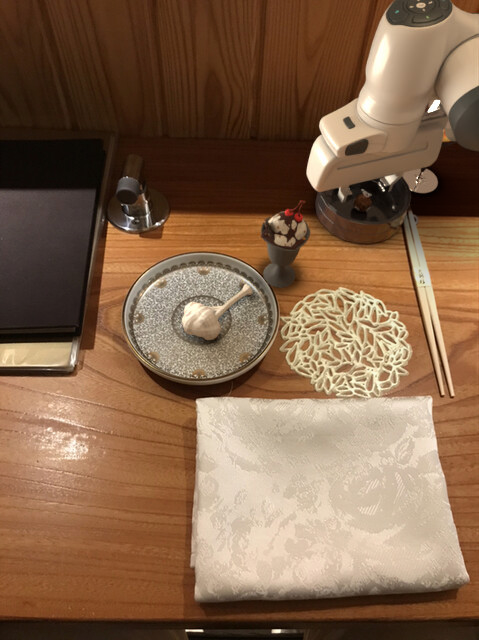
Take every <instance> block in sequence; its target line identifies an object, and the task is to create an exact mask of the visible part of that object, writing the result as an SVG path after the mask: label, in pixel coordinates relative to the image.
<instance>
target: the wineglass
mask: <svg viewBox="0 0 479 640" xmlns="http://www.w3.org/2000/svg"><path fill="white" fill-rule="evenodd" d="M437 109H441V110H443V111H444V112H446V111H445V109H444V108H443V106H442V104H441V102H440V101H431V102H430V103H429V104H428V105H427V106H426V109H425V112H431V111H433V110H437ZM443 133H444V134H443V140H442V145H441V148H442V147H448V146H452V145H454V144H456V143H457V141H456V139H455V137H454V134H453V131H452V128H451V125H450V123H449V119H448V122H447V124H446V127H445V129H444V130H443ZM402 177H403V178H404V179H405V181H406V182H407V184H408V186H409V189H410V192H414V193H418V194H427V193H431V192H433V191H435V190H436V188H437V187H438V185H439V181H438V177H437V176H436V175H435V173H434V172H433V171H432V170H430V169H429V168H427V167H424V168H420V169H416V170H411V171H407V172H404V174H403V176H402Z"/></svg>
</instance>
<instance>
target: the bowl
mask: <svg viewBox="0 0 479 640" xmlns="http://www.w3.org/2000/svg"><path fill="white" fill-rule="evenodd" d="M382 178H384V177H382ZM379 180H380V178H377V179H373V180H369V181H365V182H360V183H356V184H352V185H349V189H350V191H351V192H352V193H353V195H352V197H351V201H347V202H344V203H341V201H340V200H339V198H338V192H339V188H335V189H331V190H326V191H323V192H318V191H317V193H316V198H315V203H314V205H315V213H316V216H317V218H318V220H319V222H320V223H321V225H322V226H323V227H324V228H325V229H326V230H327V231H329V233H330V234H332V235H334V236H335V237H338V238H340V239H342V240H343V241H347V242H352V243H355V244H375V243H379V242H383V241H386V240H388V239H389V238H391V237H393V236H394V235H396V233H398V231H399V229H400V228H401V227H402V225H403V224H404V223H403V222H404V220H405V218H406V215H407V213H408V210H409V208H410V205H411V204H410V203H411V199H412V193H411V190H410V189H409V186H408V184H407V182H406V181H405V179H404V178H403V177H401V178H400V179H399V180H398V181H397V182H396V183H395V184H393V187H392V189H391V191H389V192H385V193H381V192H380V191H381V190H379V188H378V183H379ZM362 189H364V190H362ZM365 191H366V192H367V193H369V194H370V195H368V194H367V193H366V192H365ZM363 192H365V193H366V194H365V193H363ZM362 194H365V195H367V196H369V198H370V199H371V202H372V204H371V206H370V208H369V210H368V211H367V210H366V211H367V212H366V211H364V212H360V211H358V210H356V209H355V208H354V203H353V202H354V199H355V198H356V197H357V196H358V195H362Z"/></svg>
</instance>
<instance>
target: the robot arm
mask: <svg viewBox="0 0 479 640" xmlns="http://www.w3.org/2000/svg"><path fill="white" fill-rule="evenodd" d="M431 101H440V102H441V104H442V106H443V108H444V109H445V111H446V112H444V111H443V110H441V109H437V110H433V111H431V112H425V109H426V106H427V105H428V104H429V103H430V102H431ZM448 119H449V123H450V125H451V128H452V131H453V134H454V137H455V139H456V141H457V142H456V143H457V145H459V146H460V147H462V148H464V149H466V150H467V149H468V150H470V151H474V152H479V12H467V11H465V10H462V9H460V8H459V7H457V6H456V5H455V4H454V3H453V2H452V0H393V1H392V2H391V3H390V5H388V6H387V8H386V9H385V11H384V13H383V15H382V17H381V18H380V20H379V23H378V25H377V28H376V31H375V33H374V37H373V40H372V43H371V46H370V50H369V53H368V57H367V61H366V65H365V82H364V84H363V86H362V87H361V89H360V92H359V93H358V97H357V98H355V99H353V100H352V101H351V102H349V103H347V104H345V105H344V106H342V107H340V108H338V109H336V110H335V111H334V110H333V111H332V112H330V113H328V114H327V115H324V116H322V117H321V119H320V121H319V124H318V127H319V128H318V129H319V131H320V133H321V134H320V135H319V136H318V137H317V138H316V139H315V140H314V142H313V144H312V147H311V150H310V153H309V156H308V157H309V158H308V161H307V166H306V177H307V179H308V181H309V183H310V185H311V187H312V188H313V189H314V190H315V191H316V192H317V193H318V192H323V191H326V190H331V189H335V188H339V192H338V198H339V200H340V201H341V203H344V202H347V201H351V197H352V195H353V193H352V192H351V191H350V189H349V185H352V184H356V183H360V182H365V181H369V180H373V179H377V178H380V180H379V183H378V188H379V190H381V191H380V192H381V193H385V192H389V191H391V189H392V187H393V184H395V183H396V182H397V181H398V180H399V179H400V178H401V177H402V176H403V174H404V172H407V171H411V170H416V169H420V168H424V167H426V168H427V167H430V166H432V165H433V164H434V163H435V162H436V161H437V159H438V157H439V154H440V152H441V148H442V147H441V145H442V140H443V134H444V133H443V130H444V129H445V127H446V124H447V122H448ZM382 177H384V178H382Z"/></svg>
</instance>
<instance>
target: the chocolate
mask: <svg viewBox="0 0 479 640" xmlns="http://www.w3.org/2000/svg"><path fill="white" fill-rule="evenodd" d="M362 190H364V189H362ZM365 192H366V191H365ZM365 192H363V193H365ZM366 193H367V192H366ZM366 193H365V194H366ZM365 194H362V195H358V196H357V197H356V198H355V199H354V202H353V203H354V208H355V209H356V210H358V211H360V212H364V211H366V210H367V211H368V210H369V208H370V206H371V204H372V202H371V199H370V198H369V196H367V195H365ZM367 194H368V195H370V194H369V193H367ZM367 211H366V212H367Z"/></svg>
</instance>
